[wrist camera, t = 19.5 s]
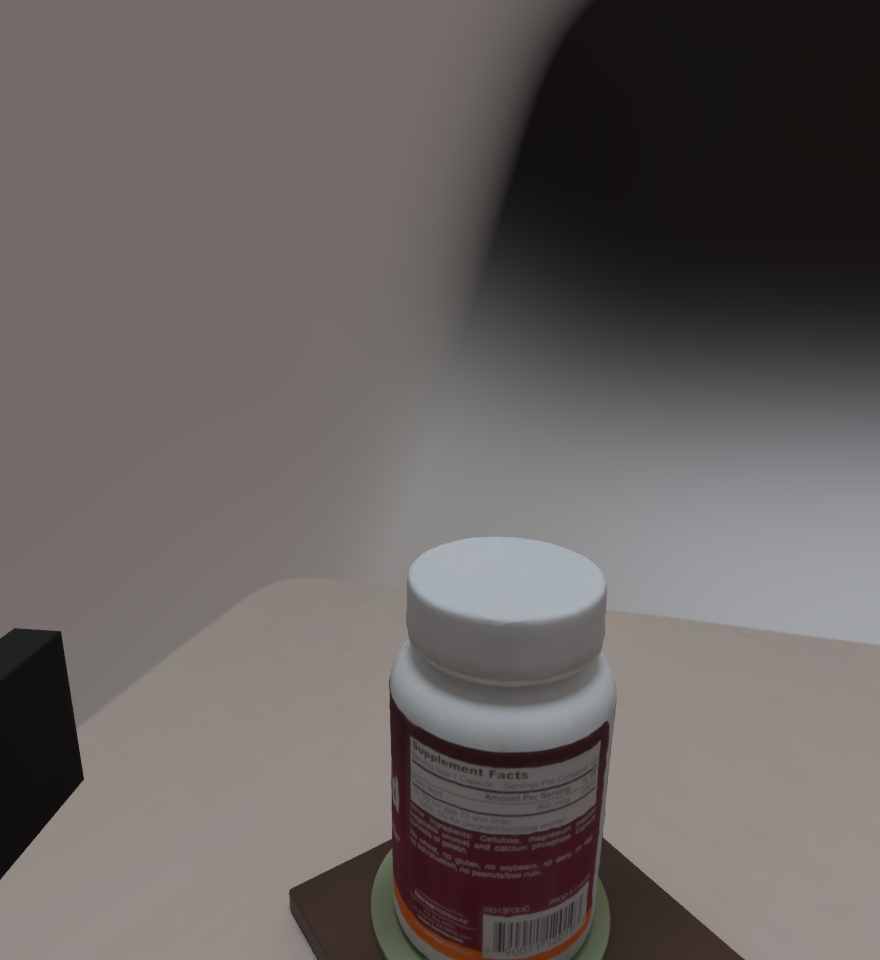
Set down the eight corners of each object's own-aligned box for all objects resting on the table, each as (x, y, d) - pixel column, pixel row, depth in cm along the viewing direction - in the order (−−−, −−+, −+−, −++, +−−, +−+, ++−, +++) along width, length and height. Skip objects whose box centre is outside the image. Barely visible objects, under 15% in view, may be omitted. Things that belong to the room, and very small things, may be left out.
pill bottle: (434, 802, 20) (438, 517, 17) (608, 853, 18) (640, 547, 16) (354, 948, 16) (345, 599, 13) (571, 1032, 14) (607, 651, 12)
